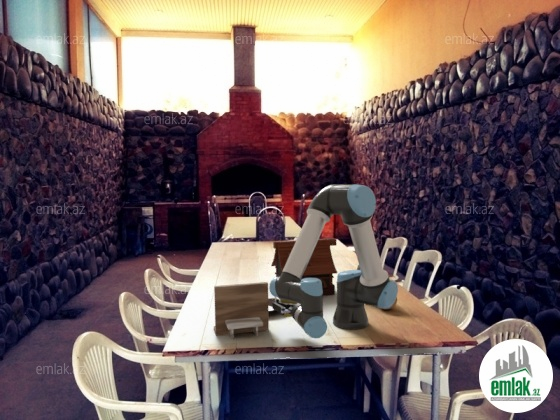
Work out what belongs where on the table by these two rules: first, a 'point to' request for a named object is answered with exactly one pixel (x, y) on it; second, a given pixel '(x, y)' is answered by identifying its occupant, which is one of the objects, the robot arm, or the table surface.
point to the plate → (270, 302)
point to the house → (310, 262)
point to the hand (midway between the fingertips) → (286, 297)
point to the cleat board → (241, 308)
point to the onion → (392, 305)
